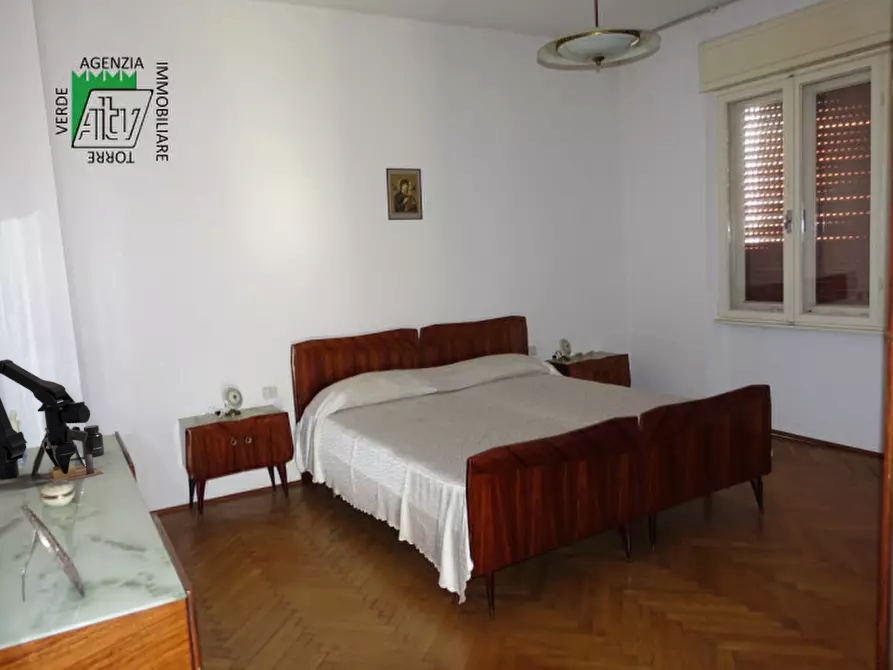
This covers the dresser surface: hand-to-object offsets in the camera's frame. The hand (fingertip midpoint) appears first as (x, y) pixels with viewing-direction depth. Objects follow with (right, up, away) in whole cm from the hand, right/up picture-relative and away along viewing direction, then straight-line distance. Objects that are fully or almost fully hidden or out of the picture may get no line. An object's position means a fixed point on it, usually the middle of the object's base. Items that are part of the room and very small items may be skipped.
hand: (62, 471), depth 227 cm
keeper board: (+3, -2, 0) cm, 4 cm away
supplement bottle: (-1, -1, +23) cm, 23 cm away
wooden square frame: (0, -1, 0) cm, 1 cm away
